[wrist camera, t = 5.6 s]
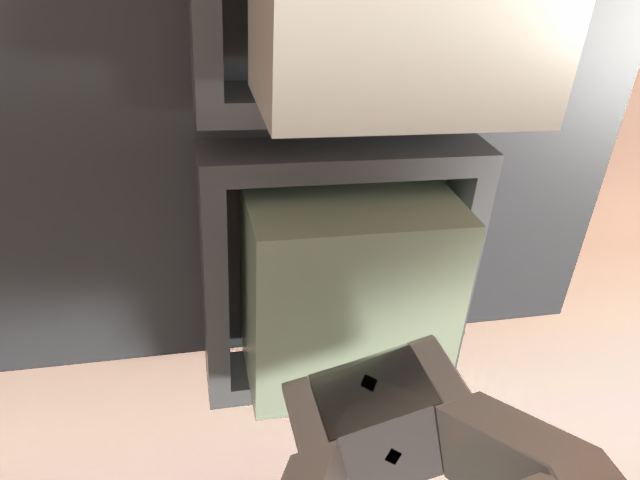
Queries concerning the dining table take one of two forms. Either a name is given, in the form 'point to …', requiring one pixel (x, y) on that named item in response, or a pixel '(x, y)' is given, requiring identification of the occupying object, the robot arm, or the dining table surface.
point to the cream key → (413, 65)
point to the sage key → (349, 276)
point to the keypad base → (238, 180)
